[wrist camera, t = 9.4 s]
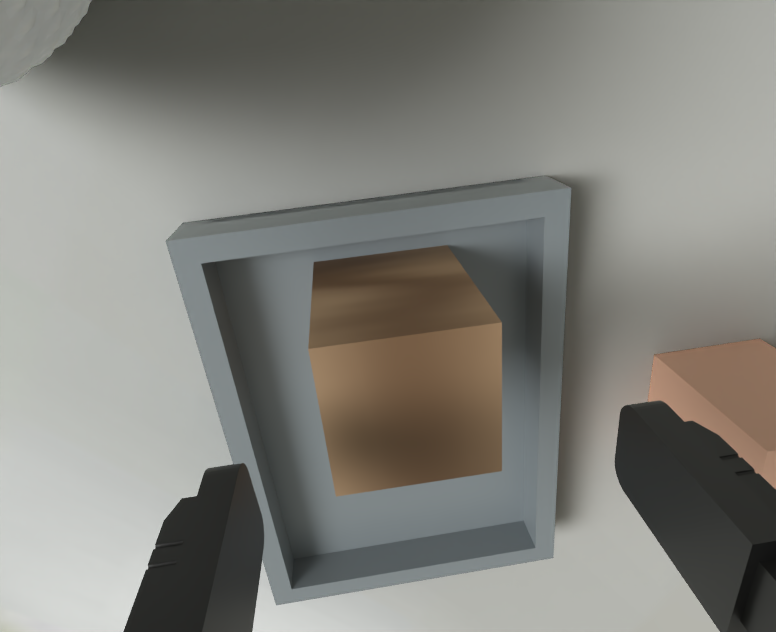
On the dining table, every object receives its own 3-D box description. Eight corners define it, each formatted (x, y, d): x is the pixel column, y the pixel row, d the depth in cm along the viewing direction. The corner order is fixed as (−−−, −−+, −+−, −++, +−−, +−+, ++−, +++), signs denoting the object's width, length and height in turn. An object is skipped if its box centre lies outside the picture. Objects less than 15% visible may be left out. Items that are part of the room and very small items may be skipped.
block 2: (653, 354, 21) (767, 451, 16) (759, 337, 21) (907, 428, 16) (641, 441, 23) (739, 555, 17) (738, 426, 23) (864, 533, 18)
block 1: (333, 376, 19) (335, 496, 14) (313, 262, 17) (308, 349, 12) (452, 360, 19) (502, 470, 14) (446, 244, 17) (501, 322, 12)
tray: (182, 223, 17) (165, 241, 15) (545, 175, 17) (571, 187, 15) (280, 564, 24) (276, 605, 22) (536, 522, 24) (553, 557, 22)
